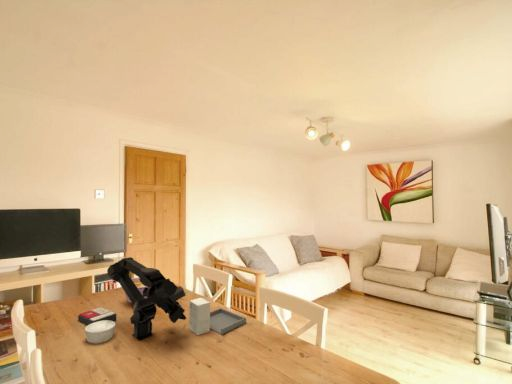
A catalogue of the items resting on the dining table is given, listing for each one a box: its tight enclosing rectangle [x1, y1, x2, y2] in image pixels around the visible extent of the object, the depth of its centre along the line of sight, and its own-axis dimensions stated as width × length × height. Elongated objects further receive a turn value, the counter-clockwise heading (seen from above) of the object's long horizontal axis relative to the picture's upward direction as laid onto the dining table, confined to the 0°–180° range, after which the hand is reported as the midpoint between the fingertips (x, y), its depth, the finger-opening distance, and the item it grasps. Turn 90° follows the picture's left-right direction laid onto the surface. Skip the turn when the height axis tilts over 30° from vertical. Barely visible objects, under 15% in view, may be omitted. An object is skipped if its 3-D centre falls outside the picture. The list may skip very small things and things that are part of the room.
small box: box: [188, 297, 211, 336], centre depth 126 cm, size 8×6×13 cm
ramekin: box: [84, 320, 116, 345], centre depth 118 cm, size 11×11×5 cm
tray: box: [210, 307, 247, 336], centre depth 134 cm, size 15×18×2 cm
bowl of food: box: [124, 277, 149, 304], centre depth 158 cm, size 20×20×12 cm
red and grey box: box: [77, 306, 117, 327], centre depth 134 cm, size 11×4×15 cm
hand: (185, 318), depth 123 cm, fingers closed
